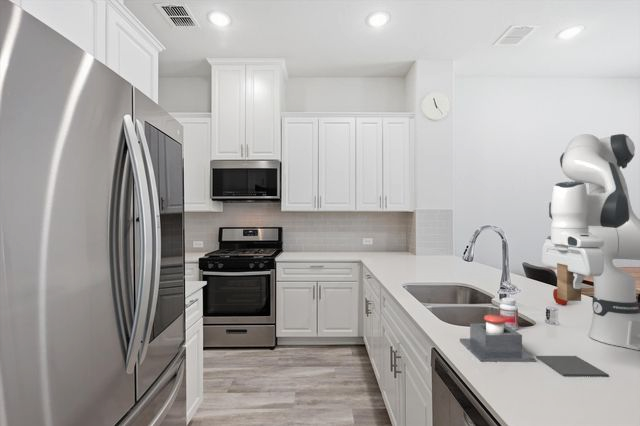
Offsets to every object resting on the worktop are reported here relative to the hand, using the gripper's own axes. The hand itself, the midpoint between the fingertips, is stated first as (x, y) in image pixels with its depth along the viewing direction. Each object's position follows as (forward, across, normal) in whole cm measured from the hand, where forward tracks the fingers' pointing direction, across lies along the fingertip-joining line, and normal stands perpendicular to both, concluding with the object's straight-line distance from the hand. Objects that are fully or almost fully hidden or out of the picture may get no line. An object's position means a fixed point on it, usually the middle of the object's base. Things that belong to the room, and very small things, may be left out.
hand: (569, 286), depth 99 cm
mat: (+23, 0, 0) cm, 23 cm away
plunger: (+21, -11, -16) cm, 29 cm away
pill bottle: (+23, -33, 0) cm, 40 cm away
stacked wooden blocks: (+4, 0, 0) cm, 4 cm away
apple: (+24, -67, +43) cm, 83 cm away
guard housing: (+23, -11, -16) cm, 30 cm away
